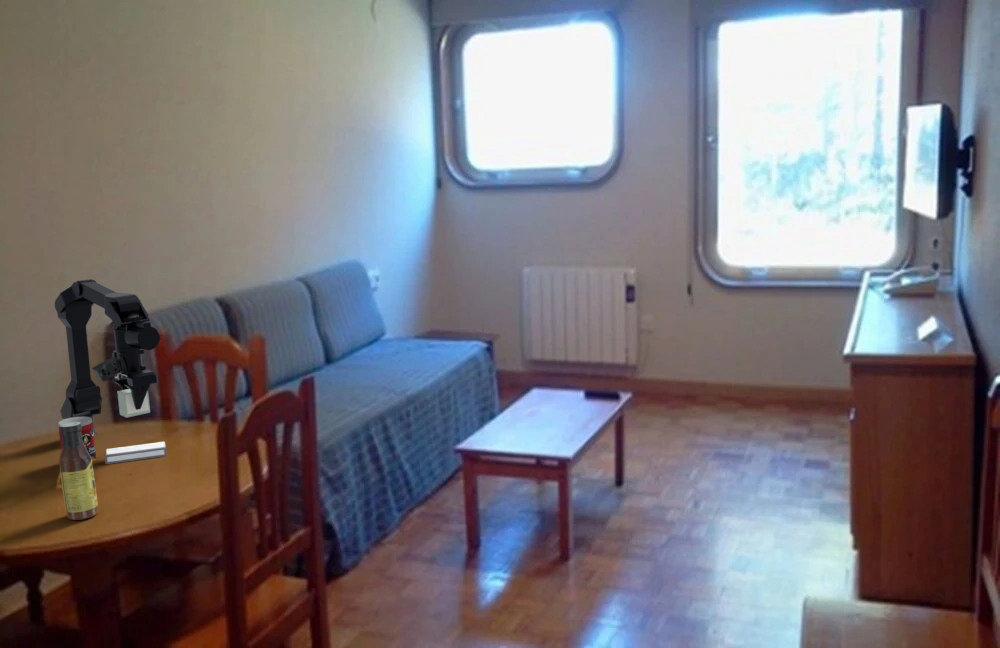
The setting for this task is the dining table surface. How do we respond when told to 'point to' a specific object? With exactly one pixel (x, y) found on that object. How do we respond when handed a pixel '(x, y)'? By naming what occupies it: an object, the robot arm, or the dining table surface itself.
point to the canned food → (83, 433)
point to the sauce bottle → (77, 474)
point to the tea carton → (131, 404)
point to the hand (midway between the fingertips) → (134, 407)
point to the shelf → (135, 452)
